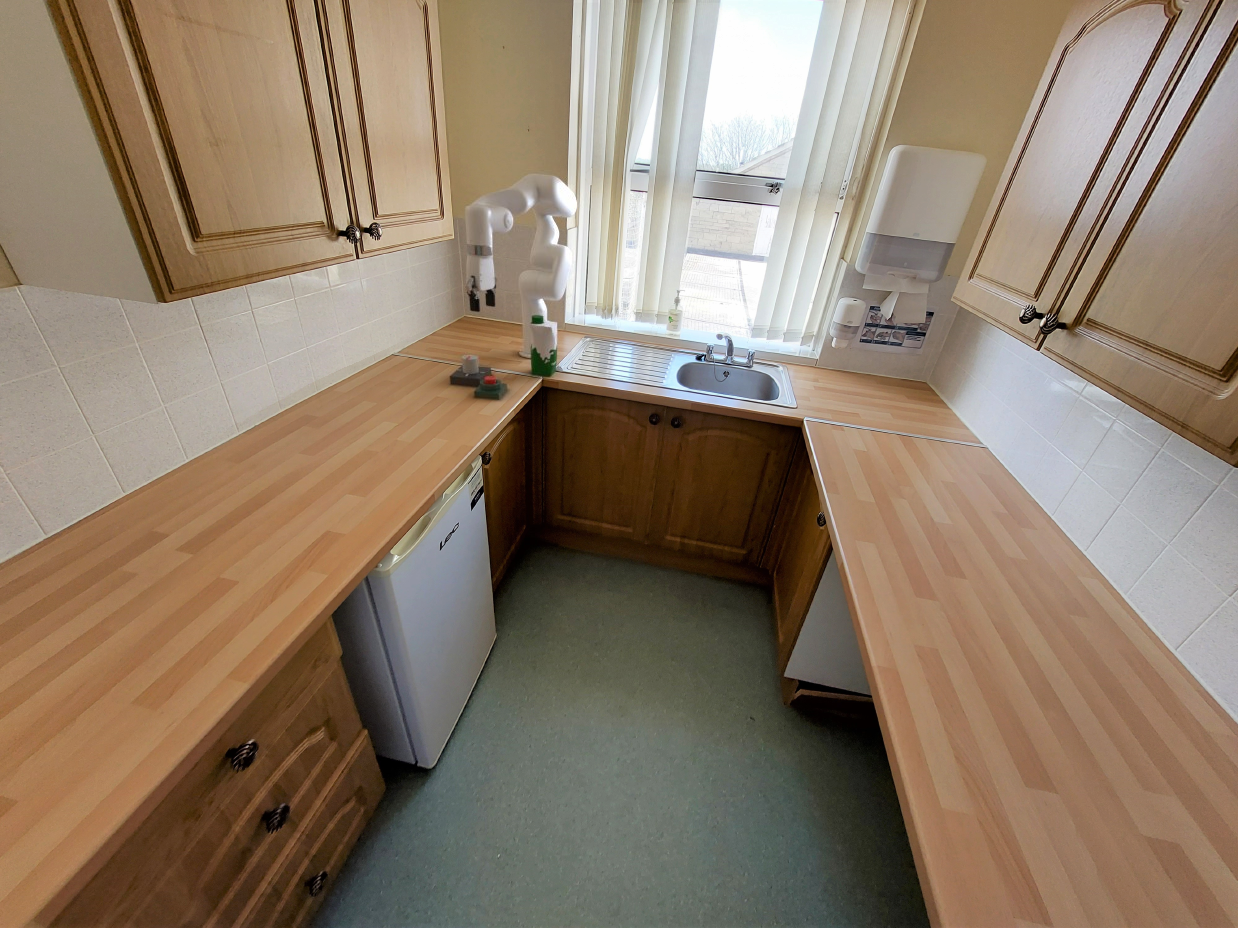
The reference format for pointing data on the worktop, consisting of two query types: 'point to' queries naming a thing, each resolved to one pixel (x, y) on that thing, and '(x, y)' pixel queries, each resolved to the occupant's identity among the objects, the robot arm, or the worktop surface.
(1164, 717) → the worktop surface
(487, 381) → the button
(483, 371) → the dial panel
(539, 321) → the milk carton
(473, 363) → the dial knob
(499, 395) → the button box
